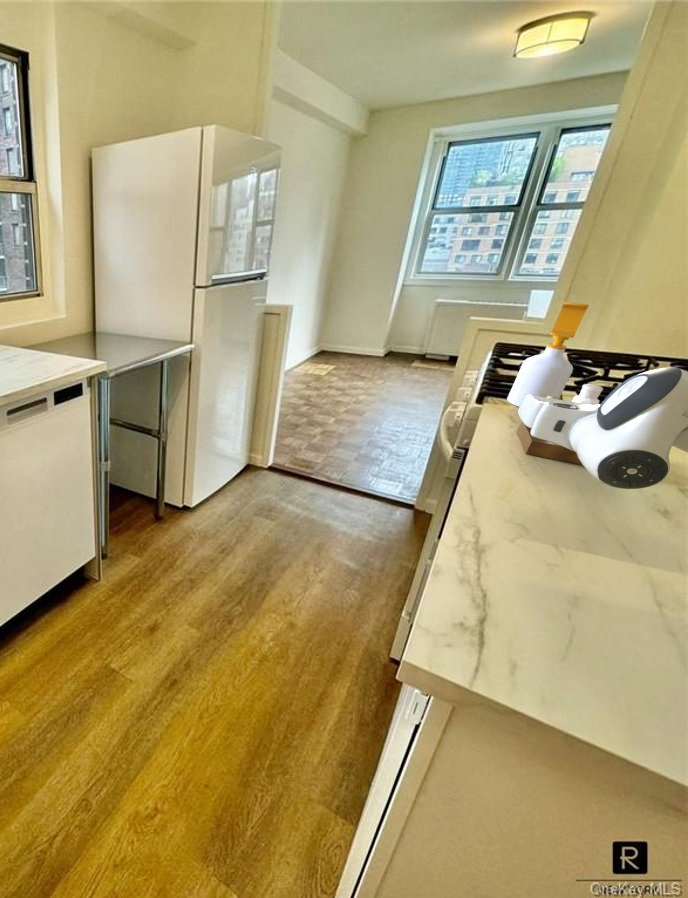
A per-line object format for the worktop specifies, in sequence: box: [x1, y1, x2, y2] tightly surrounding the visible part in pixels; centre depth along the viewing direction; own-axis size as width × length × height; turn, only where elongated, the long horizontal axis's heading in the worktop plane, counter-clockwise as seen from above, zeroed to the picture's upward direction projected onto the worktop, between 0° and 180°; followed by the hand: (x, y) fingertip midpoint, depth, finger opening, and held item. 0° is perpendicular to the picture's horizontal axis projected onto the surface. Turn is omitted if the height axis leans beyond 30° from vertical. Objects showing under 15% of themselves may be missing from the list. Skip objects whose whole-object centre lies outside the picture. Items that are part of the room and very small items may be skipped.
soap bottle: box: [506, 302, 589, 408], centre depth 113 cm, size 9×9×25 cm
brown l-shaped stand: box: [516, 420, 583, 466], centre depth 96 cm, size 12×12×8 cm
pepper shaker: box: [571, 383, 604, 405], centre depth 93 cm, size 5×5×11 cm
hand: (582, 404), depth 93 cm, fingers open, 8 cm apart
